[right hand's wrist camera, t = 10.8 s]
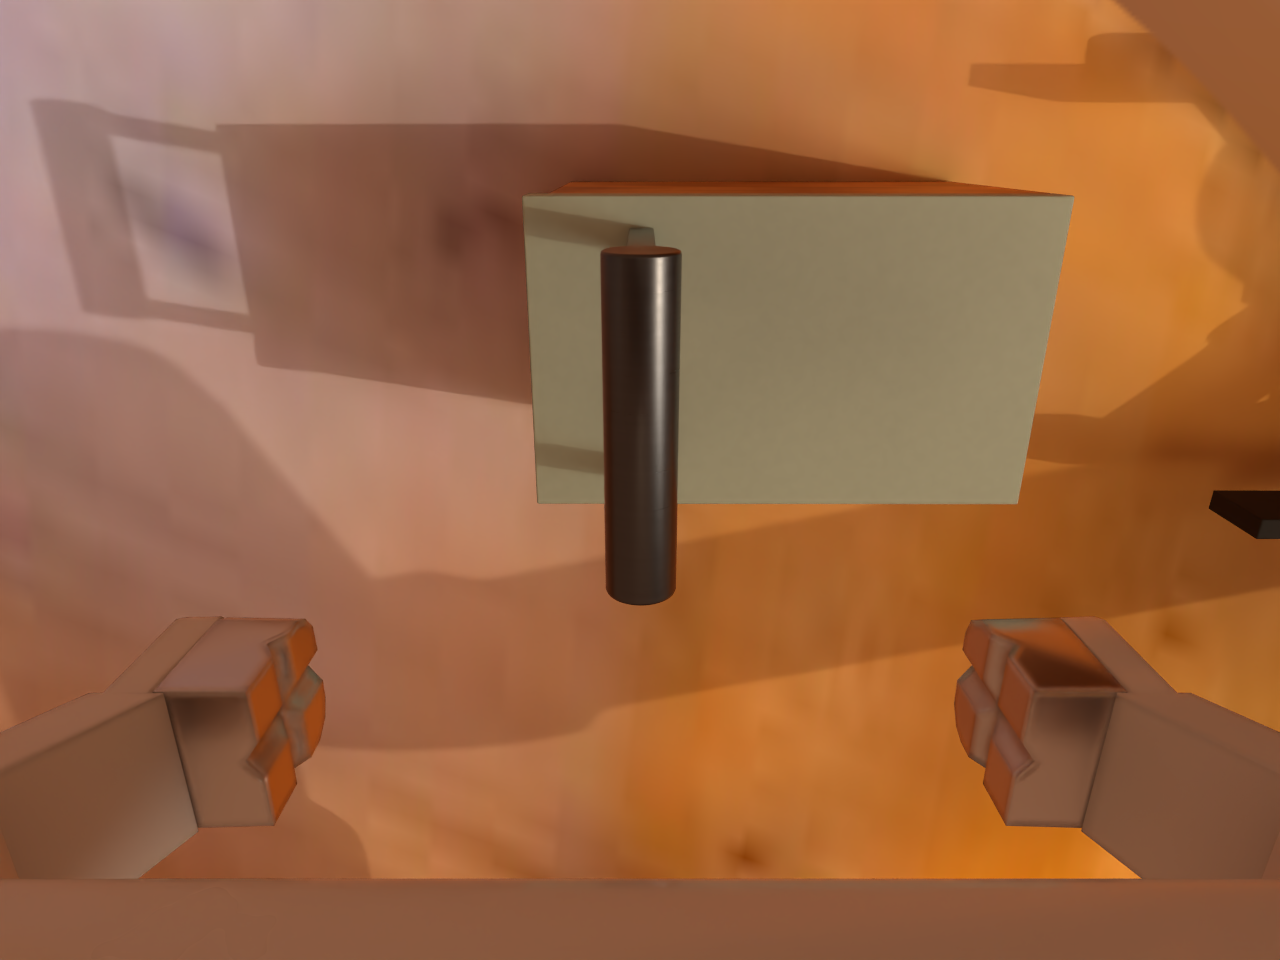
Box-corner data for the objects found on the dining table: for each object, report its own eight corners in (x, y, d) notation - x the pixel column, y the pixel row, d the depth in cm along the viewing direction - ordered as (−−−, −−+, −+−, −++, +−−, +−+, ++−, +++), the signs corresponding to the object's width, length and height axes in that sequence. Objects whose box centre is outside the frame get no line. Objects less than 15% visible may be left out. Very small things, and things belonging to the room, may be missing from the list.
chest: (576, 412, 36) (558, 488, 28) (569, 181, 32) (546, 192, 24) (921, 412, 36) (1001, 489, 28) (952, 181, 32) (1054, 193, 24)
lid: (541, 489, 28) (499, 632, 20) (527, 193, 24) (469, 216, 16) (1002, 489, 28) (1153, 633, 20) (1054, 193, 24) (1264, 217, 16)
